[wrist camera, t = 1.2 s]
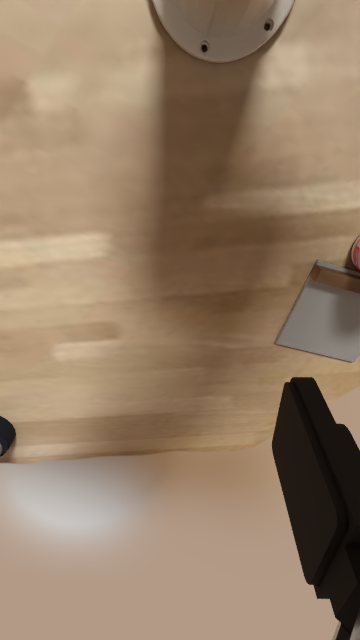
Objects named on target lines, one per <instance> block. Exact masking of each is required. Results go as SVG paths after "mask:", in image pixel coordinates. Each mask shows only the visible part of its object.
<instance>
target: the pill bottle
mask: <svg viewBox="0 0 360 640" xmlns="http://www.w3.org/2000/svg"><path fill="white" fill-rule="evenodd" d="M351 256H352V261H353V263H354V265H355V266H356V267H357V268H358V269H359V270H360V236H359V237H358V238H357V240H356V241H355V243H354V245H353V248H352V252H351Z"/></svg>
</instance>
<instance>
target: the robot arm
mask: <svg viewBox="0 0 360 640" xmlns="http://www.w3.org/2000/svg"><path fill="white" fill-rule="evenodd" d="M152 1H153V5H154V7H155V10H156V12H157V14H158V17H159V19H160V21H161V23H162V25H163V26H164V28H165V29H166V31H167V32H168V34H169V36H170V37H171V38H172V39H173V40H174V41H175V42H176V43H177V44H178V45H179V46H180V48H182V49H183V50H185V51H186V52H188V53H189V54H190V55H192V56H194V57H196V58H199V59H201V60H204V61H208V62H215V63H223V62H232V61H235V60H238V59H241V58H244V57H246V56H248V55H249V54H251V53H253V52H254V51H256V50H258V49H259V48H260V47H261V46H262V45H263V44H265V43H266V42H267V41H268V40H269V39H270V38H271V37H272V36H273V35H274V34H275V32H276V31H277V30H278V28H279V27H280V26H281V24H282V23H283V21H284V20H285V18H286V17H287V15H288V13H289V11H290V9H291V7H292V5H293V3H294V1H295V0H152ZM265 24H268V25H269V30H268V31H265V29H264V25H265ZM203 45H205V46H206V47H207V51H206V52H203V51H202V50H201V47H202V46H203ZM272 450H273V456H274V460H275V464H276V468H277V472H278V475H279V479H280V483H281V487H282V491H283V495H284V499H285V502H286V507H287V511H288V514H289V518H290V522H291V526H292V530H293V534H294V538H295V542H296V545H297V550H298V553H299V557H300V561H301V565H302V569H303V573H304V577H305V579H306V582H307V583H308V584H309V585H314V588H315V592H316V596H317V598H318V599H330V601H331V605H332V608H333V611H334V615H335V618H336V619H338V620H339V623H338V625H337V628H336V631H335V634H334V636H333V639H332V640H360V450H359V448H358V447H357V444H356V443H355V441H354V439H353V437H352V435H351V433H350V431H349V430H348V428H347V427H346V426H345V425H344V424H336V422H335V420H334V418H333V416H332V414H331V412H330V410H329V408H328V406H327V404H326V402H325V400H324V398H323V395H322V393H321V391H320V389H319V387H318V385H317V383H316V381H315V380H314V378H312V377H293V378H292V379H291V381H290V382H286V383H285V384H284V388H283V393H282V397H281V402H280V407H279V412H278V416H277V421H276V426H275V430H274V435H273V440H272Z"/></svg>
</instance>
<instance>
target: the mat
mask: <svg viewBox="0 0 360 640" xmlns="http://www.w3.org/2000/svg"><path fill="white" fill-rule="evenodd" d="M315 264H317V265H320V266H324V267H327V268H331V269H335V270H338V271H342V272H345V273H349V274H353V275H356V276H360V272H358V271H354V270H351V269H347V268H344V267H340V266H337V265H333V264H329V263H326V262H322V261H319V260H317V261H316V263H315ZM314 266H315V267H316V265H314ZM315 267H313V270H314V268H315ZM313 270H312V271H313ZM312 271H311V272H312ZM311 272H310V273H311ZM312 273H313V272H312ZM275 343H276V344H279V345H283V346H287V347H291V348H296V349H300V350H304V351H308V352H312V353H316V354H321V355H325V356H329V357H333V358H337V359H342V360H346V361H350V362H355V360H356V359H357V357H358V356H359V354H360V294H359V293H355V292H352V291H348V290H344V289H340V288H337V287H333V286H329V285H326V284H322V283H318V282H315V281H314V280H313V279H312V278H311V276H310V274H309V276H308V278H307V280H306V282H305V284H304V286H303V288H302V290H301V292H300V294H299V296H298V298H297V300H296V302H295V304H294V306H293V307H292V309H291V311H290V313H289V315H288V317H287V319H286V321H285V323H284V325H283V327H282V329H281V331H280V333H279V335H278V337H277V339H276V341H275Z"/></svg>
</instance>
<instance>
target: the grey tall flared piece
mask: <svg viewBox="0 0 360 640" xmlns="http://www.w3.org/2000/svg"><path fill="white" fill-rule="evenodd" d="M15 435H16V433H15V429H14V427H13V425H12V424H11V423H10V422H9V421H8V420H6V419H5V418H3V417H1V416H0V456H3V455H4V454H5V453H6V451H7V450H8V449H9V447H10V445H11V444H12V442H13V440H14V438H15Z"/></svg>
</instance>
